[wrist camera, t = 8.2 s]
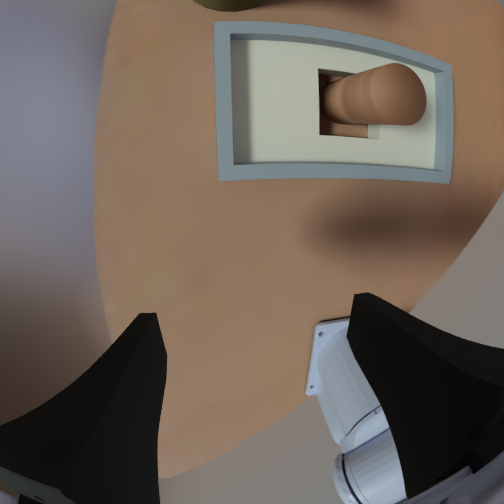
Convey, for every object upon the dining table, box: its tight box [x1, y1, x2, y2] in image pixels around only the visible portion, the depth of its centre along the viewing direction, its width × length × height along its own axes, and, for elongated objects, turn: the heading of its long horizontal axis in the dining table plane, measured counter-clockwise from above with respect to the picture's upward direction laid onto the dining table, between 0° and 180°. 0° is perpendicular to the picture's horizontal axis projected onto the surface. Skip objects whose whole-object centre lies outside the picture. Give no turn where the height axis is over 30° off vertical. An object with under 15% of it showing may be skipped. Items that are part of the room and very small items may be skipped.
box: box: [214, 21, 454, 184], centre depth 15 cm, size 9×16×3 cm, turn 91°
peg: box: [319, 63, 427, 126], centre depth 13 cm, size 3×3×7 cm
